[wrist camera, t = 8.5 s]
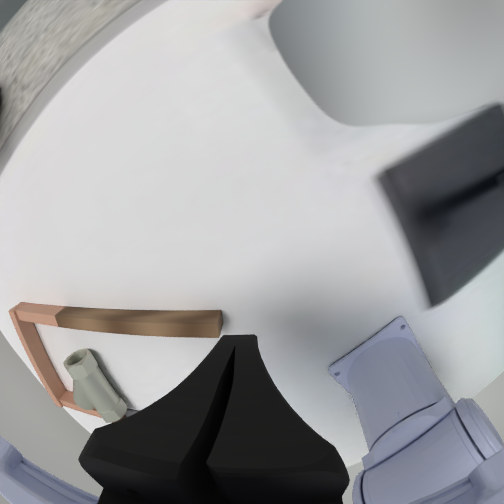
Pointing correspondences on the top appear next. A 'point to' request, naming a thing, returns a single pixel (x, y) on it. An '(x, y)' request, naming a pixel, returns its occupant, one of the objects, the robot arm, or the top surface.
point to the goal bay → (42, 350)
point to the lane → (143, 323)
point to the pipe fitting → (93, 387)
